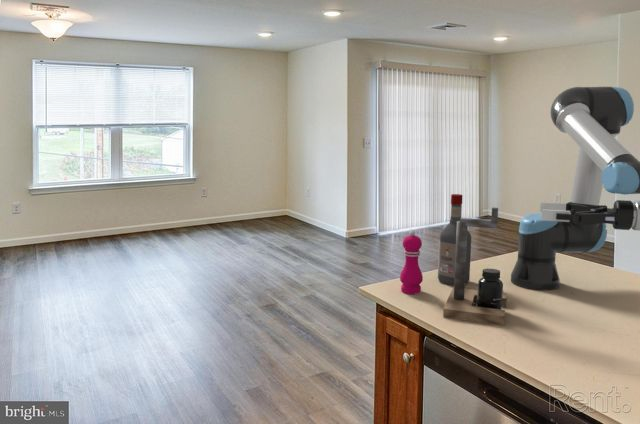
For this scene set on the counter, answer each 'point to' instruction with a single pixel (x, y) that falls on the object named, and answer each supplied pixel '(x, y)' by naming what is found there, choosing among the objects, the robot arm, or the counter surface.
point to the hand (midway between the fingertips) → (540, 210)
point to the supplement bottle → (490, 290)
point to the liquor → (452, 245)
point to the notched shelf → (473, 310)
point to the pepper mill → (411, 265)
